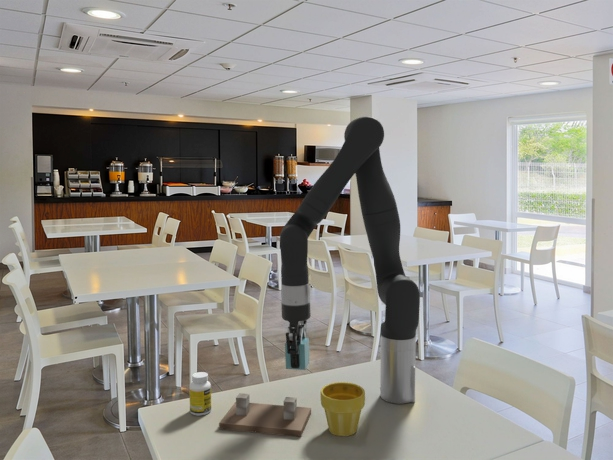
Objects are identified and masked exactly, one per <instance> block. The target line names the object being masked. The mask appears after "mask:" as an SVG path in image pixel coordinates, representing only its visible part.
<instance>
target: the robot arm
mask: <svg viewBox="0 0 613 460" xmlns="http://www.w3.org/2000/svg"><path fill="white" fill-rule="evenodd" d="M343 136H344V137H343V138H344V142H343V144H342V145H341V148H340V150H339V152H338V153H337V155H336V156H335V158H334V159H333V161H332V162H331V163H330V165H329V166H328V168H326V169H325V171H324V172H323V173H322V174H321V175H320V176H319V178H318V179H317V180H316V181H315V182H314V183H313V185H312V186H311V188H310V189H309V191H308V192H307V193H306V195H304V196H305V197H304V198H303V199H302V201H301V203H300V204H299V206H298V208H297V210H296V211H295V212H294V213H293V214H292V215H291V216H290V218H289V220H288V221H287V222H286V223H285V225H284V226H283V228H282V229H281V231H280V232H279V233H280V234H279V246H280V247H279V248H280V256H281V257H280V259H281V269H280V273H281V278H280V279H281V289H280V298H281V299H280V303H281V305H280V307H281V319H282V320H284V321H287V322H288V323H289V325H288V326H287V332H285V341H286V342H287V352H288V354H290V358H291V367H292V368H299V366H300V362H299V353H300V351H299V345H301V344H302V338H304V339H305V338H307V321H308V320H309V319H310V318H311V290H310V283H309V281H310V280H309V265H308V254H309V253H308V252H309V250H308V249H309V248H308V246H309V237H310V236H311V234H312V232H313V231H314V230H315V229H316V227H317V225H318V224H320V223H321V222H322V221H323V220H324V219H325V218H326V216H327V215H328V213H329V212H330V210H331V209H332V207H333V205H334V204H335V203H336V201H337V200H338V198H339V197H340V195H341V194H342V193H343V191H344V189H345V188H346V186H347V184H348V183H349V182H350V180H351V179H352V178H353V176H354V175H355V179H356V187H357V193H358V198H359V206H360V211H361V216H362V221H363V225H364V228H365V233H366V236H367V240H368V241H367V242H368V244H369V247H370V251H371V254H372V258H373V262H374V271H375V279H376V289H377V295H378V298H379V299H380V301H381V302H382V303H383V304H384V305H385V313H384V321H383V322H382V323H381V324H380V374H379V375H380V380H379V381H380V384H379V386H380V387H379V391H380V394H379V395H380V398H381V400H384V401H385V402H388V403H391V404H399V405H400V404H408V403H415V402H416V341H417V339H416V337H417V329H418V327H419V322H420V307H421V305H420V302H421V299H420V298H421V297H420V296H421V295H420V290H419V286H418V285H417V284H416V282H414V281H413V280H412V279H410V278H408V277H407V276H406V273H405V270H404V267H403V264H402V260H401V255H400V241H401V220H400V214H399V210H398V206H397V205H398V204H397V202H396V199H395V195H394V193H393V191H392V187H391V185H390V184H389V181H388V179H387V177H386V174H385V171H384V167H383V163H382V158H381V157H382V156H381V153H380V152H381V151H380V147H381V146H382V144H383V143H384V139H385V130H384V126H383V124H382V123H381V122H380V121H379V120H378V119H376V118H375V117H373V116H367V115H366V116H361V117H357V118H354V119H353V120H351V121H350V122H349V123H348V124H347V126H346V128H345V129H344V135H343ZM297 340H299V341H298V342H297ZM286 342H285V343H286ZM292 346H294V347H295V349H292Z"/></svg>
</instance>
